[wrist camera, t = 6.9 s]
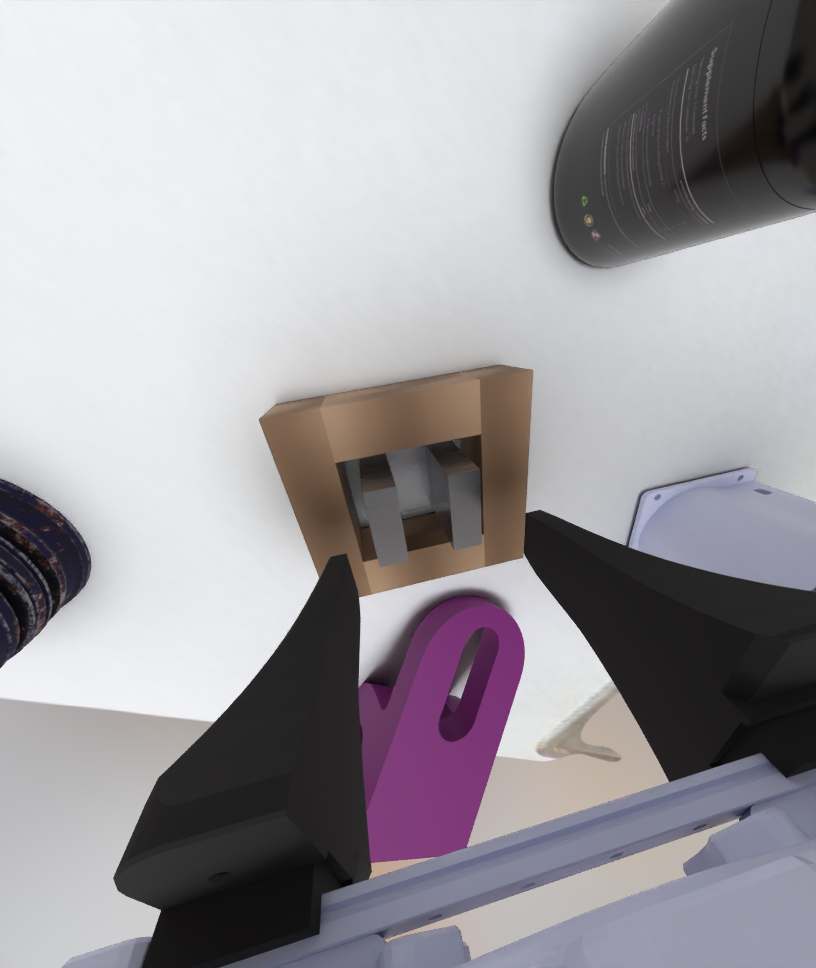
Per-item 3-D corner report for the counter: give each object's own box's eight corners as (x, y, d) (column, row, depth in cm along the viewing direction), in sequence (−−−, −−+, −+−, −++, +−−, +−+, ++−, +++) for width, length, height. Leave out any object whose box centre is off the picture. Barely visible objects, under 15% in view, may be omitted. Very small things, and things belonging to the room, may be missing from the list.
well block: (500, 364, 16) (532, 370, 13) (499, 528, 21) (523, 557, 18) (276, 404, 15) (258, 419, 12) (332, 566, 20) (329, 604, 17)
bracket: (443, 432, 17) (479, 469, 12) (448, 491, 19) (481, 544, 14) (358, 448, 17) (362, 493, 12) (371, 507, 18) (379, 567, 14)
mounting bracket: (403, 559, 28) (330, 748, 26) (446, 591, 21) (347, 865, 19) (478, 584, 32) (418, 754, 30) (539, 620, 24) (464, 854, 22)
